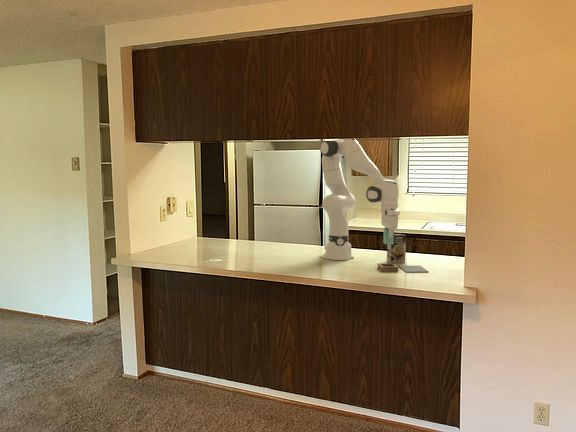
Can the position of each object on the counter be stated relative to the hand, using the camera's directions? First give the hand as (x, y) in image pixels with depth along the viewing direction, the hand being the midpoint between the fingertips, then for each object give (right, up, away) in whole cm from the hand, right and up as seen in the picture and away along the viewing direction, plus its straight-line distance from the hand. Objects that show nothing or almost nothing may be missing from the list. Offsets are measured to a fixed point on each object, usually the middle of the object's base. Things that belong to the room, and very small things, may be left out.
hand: (388, 235), depth 262 cm
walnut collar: (0, -18, +2) cm, 19 cm away
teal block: (0, -4, 0) cm, 4 cm away
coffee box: (+9, -16, +23) cm, 29 cm away
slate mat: (+14, -18, +3) cm, 23 cm away
